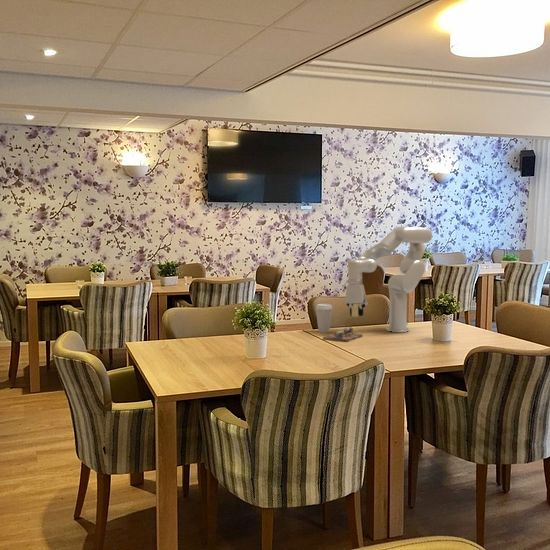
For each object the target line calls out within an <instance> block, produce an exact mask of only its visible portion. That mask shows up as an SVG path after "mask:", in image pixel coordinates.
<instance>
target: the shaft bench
mask: <svg viewBox="0 0 550 550" xmlns="http://www.w3.org/2000/svg"><path fill="white" fill-rule="evenodd" d="M361 338H363V334H361V333H354V327H352V326H350V327H345V328H344V329H343V330H340V331H335V332H334V333H332V334H328V335H325V336H323V337H322V340H326V341H335V342H343V343H350V342H351V341H354V340H356V339H357V340H358V339H361Z"/></svg>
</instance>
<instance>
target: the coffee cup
mask: <svg viewBox="0 0 550 550" xmlns="http://www.w3.org/2000/svg"><path fill="white" fill-rule="evenodd" d="M315 310H316V320H317V321H316V322H317V331H320V332H319V333H330V332H331V322H332V311H333V306H332V304H329V303H318V304H316V307H315ZM329 331H330V332H329Z"/></svg>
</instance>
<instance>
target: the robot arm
mask: <svg viewBox="0 0 550 550" xmlns="http://www.w3.org/2000/svg"><path fill="white" fill-rule="evenodd" d="M432 238H433V232H432V231H431V229H429V228H427V227H412V226H397V227H394V228H393V229H391V231H390V232H389V233H388V234H387V235H386V236H384V238H383V239H382V240H381V241H379V242H378V243H377V244H375V245H373V246H371V247H370V248H369V249H367V250H366V251H364V252H363V253H362V254H361V255H360V256H359V257H358V258H357V259H349V260H347V273H348V274H347V276H348V277H347V280H346V283H347V285H346V291H345V300H344V301H343V303H344V304H345V305H346V306H347V307H348V309H349V314H350V316H351V317H352V308H351V306H352V305H359V306H360V309H359V316H360V317H362V316H364V308H365V307H366V306H367V305H368V304H369V303H370V302H369V301H368V299H367V298H366V297H367V296H366V290H365V286H364V283H363V273H373V272H375V271H376V270H377V267H378V264H377V261H376V260H377V259H381V258H383V257H386V256H388V255H390V254H392V252H394V251H395V249H397V248H398V247H399V246H400V245H401V244H402V243H409V248H408V251H407V253H406V254H405V256H404V258H403V259H402V261H401V263H400V265H399V271H400V272H401V273H402V274H392V275H391V276H390V277H389V279H388V282H387V287H388V293H389V295H388V296H389V315H388V316H389V317H388V319H389V320H388V321H389V323H388V325H389V326H388V327H386V331H387V332H390V331H392V332H391V333H407V331H408V332H410V328H408V327H407V326H408V324H409V323H408V320H407V319H408V317H407V316H408V313H407V310H408V307H407V305H408V298H407V294H410V293H412V292H413V291H414V290H415V289H416V287H418V284H419V283H420V281H421V279H422V277H423V276H424V274H425V270H426V265H425V263H424V262H423V261H422V258H423V257H424V254H425V246H424V244H427V243H429V242H430V241H431V240H432Z"/></svg>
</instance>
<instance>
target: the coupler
mask: <svg viewBox="0 0 550 550" xmlns="http://www.w3.org/2000/svg"><path fill="white" fill-rule="evenodd" d="M351 308H352V316H351V317H352V318H353V317H354V318H359V317H361V316H359V309H360V306H359V304H353V305H352V306H351Z"/></svg>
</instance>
